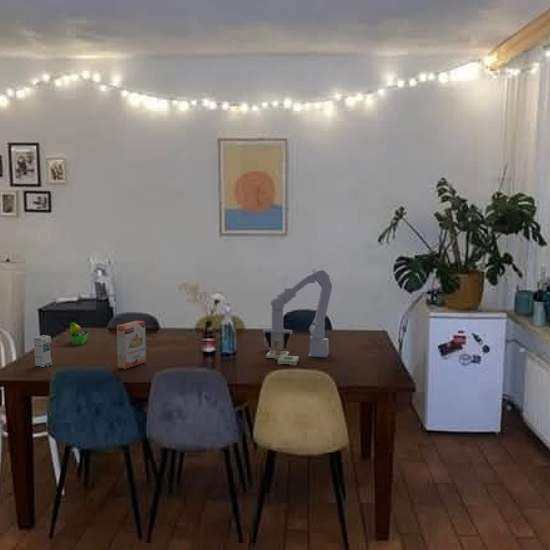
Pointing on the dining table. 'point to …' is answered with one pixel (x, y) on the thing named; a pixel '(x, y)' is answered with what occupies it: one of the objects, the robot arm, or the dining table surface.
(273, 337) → the cup
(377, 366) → the dining table surface
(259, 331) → the dining table surface
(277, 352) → the peg
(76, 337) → the fruit basket
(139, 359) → the cracker box
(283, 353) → the tray
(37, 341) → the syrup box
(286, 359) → the holder
